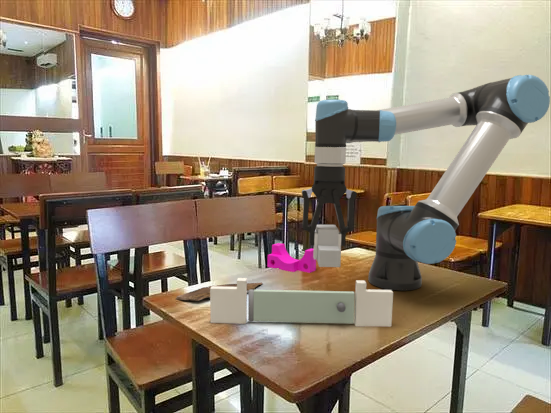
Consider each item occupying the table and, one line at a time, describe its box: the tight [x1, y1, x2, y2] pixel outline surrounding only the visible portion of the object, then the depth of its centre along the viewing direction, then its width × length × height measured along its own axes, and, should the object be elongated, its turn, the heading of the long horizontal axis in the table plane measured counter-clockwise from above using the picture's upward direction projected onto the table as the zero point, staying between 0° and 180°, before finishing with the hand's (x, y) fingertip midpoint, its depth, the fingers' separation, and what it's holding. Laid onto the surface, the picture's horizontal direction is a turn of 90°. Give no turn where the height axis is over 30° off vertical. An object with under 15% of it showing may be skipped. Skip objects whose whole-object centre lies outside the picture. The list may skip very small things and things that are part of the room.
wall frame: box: [209, 277, 394, 328], centre depth 94 cm, size 41×2×10 cm, turn 89°
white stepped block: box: [315, 224, 342, 268], centre depth 104 cm, size 5×12×8 cm, turn 179°
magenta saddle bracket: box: [266, 242, 317, 274], centre depth 137 cm, size 15×6×8 cm, turn 55°
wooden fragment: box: [175, 282, 263, 302], centre depth 115 cm, size 26×11×1 cm, turn 120°
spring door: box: [247, 289, 355, 324], centre depth 93 cm, size 24×3×7 cm, turn 89°
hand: (326, 258), depth 105 cm, fingers closed on white stepped block, 5 cm apart
